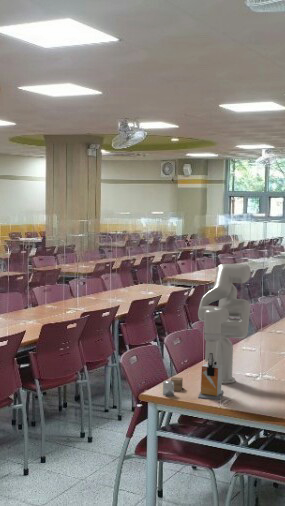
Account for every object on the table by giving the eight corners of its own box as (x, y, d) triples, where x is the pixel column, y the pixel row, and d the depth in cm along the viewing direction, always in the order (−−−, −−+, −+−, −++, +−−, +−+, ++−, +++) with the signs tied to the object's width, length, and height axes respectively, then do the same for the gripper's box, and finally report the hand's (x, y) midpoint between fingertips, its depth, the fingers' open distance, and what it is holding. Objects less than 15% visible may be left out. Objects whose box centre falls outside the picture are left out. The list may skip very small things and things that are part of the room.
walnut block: (172, 387, 311) (172, 376, 311) (182, 387, 310) (182, 377, 310) (170, 389, 306) (170, 379, 306) (180, 390, 305) (181, 380, 305)
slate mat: (201, 390, 307) (201, 388, 307) (223, 391, 305) (223, 390, 304) (198, 398, 293) (198, 396, 293) (220, 399, 291) (220, 398, 291)
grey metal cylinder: (163, 392, 301) (164, 380, 300) (174, 393, 300) (174, 380, 299) (162, 395, 296) (162, 382, 295) (172, 396, 295) (173, 383, 294)
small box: (200, 394, 297) (201, 365, 297) (204, 390, 303) (205, 363, 302) (217, 396, 294) (218, 367, 293) (221, 393, 300) (222, 365, 299)
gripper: (206, 331, 306) (205, 367, 308) (202, 340, 290) (201, 377, 291) (222, 332, 305) (221, 368, 307) (218, 341, 288) (218, 378, 290)
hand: (211, 372), depth 299 cm, fingers open, 9 cm apart
